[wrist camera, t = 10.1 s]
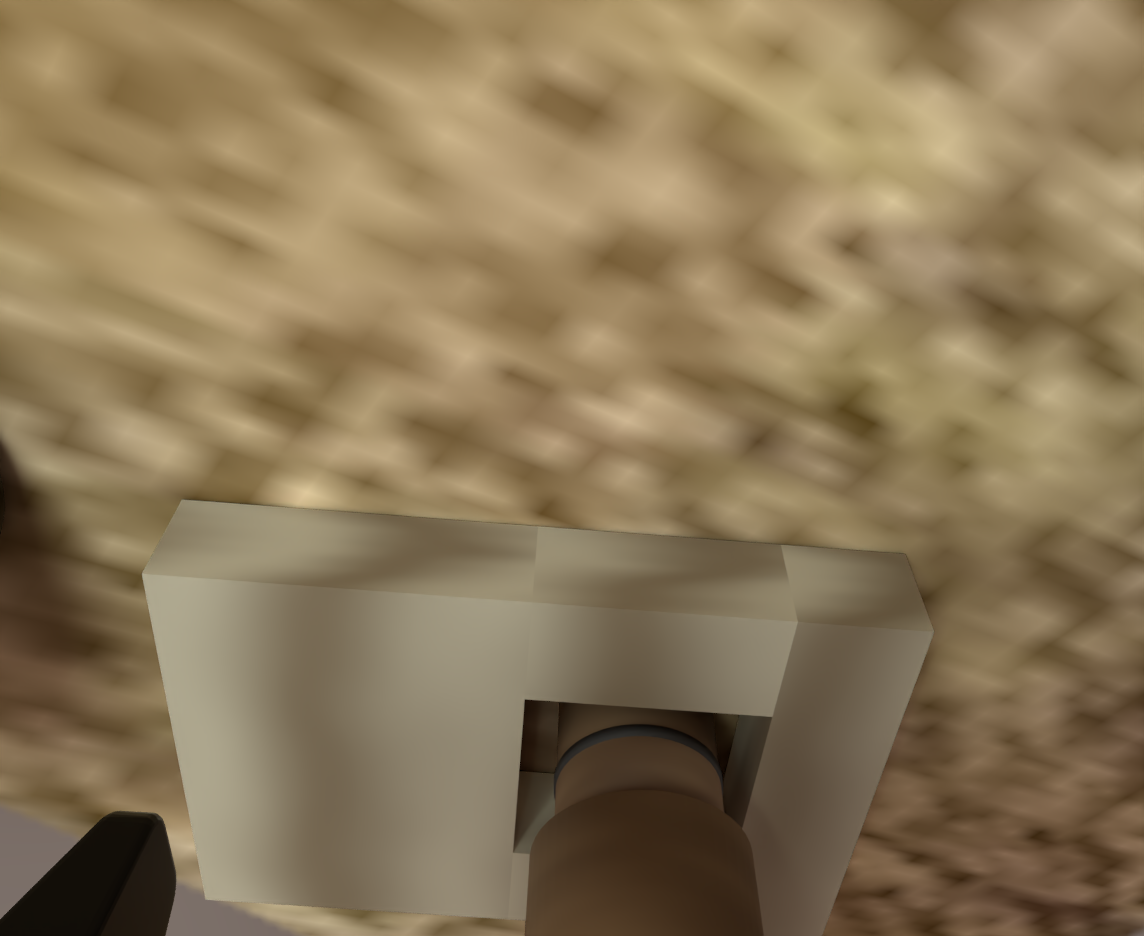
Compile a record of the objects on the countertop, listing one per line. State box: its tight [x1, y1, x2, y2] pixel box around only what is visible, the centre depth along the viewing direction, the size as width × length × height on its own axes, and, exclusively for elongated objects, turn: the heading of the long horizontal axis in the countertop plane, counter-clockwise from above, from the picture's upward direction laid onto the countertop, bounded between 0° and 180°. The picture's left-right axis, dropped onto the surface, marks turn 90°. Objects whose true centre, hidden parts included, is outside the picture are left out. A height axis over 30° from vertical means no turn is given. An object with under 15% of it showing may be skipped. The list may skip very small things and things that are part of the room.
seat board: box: [142, 500, 934, 936], centre depth 26 cm, size 16×11×2 cm
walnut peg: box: [525, 702, 764, 936], centre depth 22 cm, size 5×5×12 cm
